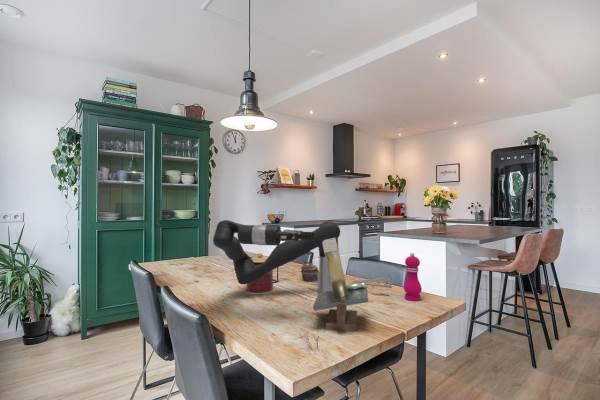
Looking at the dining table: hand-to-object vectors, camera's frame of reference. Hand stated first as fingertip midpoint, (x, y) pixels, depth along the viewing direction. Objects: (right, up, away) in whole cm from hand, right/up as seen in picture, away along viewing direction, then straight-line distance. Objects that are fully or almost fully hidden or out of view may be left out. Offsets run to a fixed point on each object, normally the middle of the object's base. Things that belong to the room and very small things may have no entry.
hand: (312, 235), depth 111 cm
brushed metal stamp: (+10, -22, -2) cm, 24 cm away
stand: (+10, -30, -2) cm, 32 cm away
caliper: (+32, -31, +48) cm, 65 cm away
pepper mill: (+44, -30, +24) cm, 59 cm away
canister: (-24, -31, +42) cm, 57 cm away
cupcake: (+1, -31, +59) cm, 67 cm away
